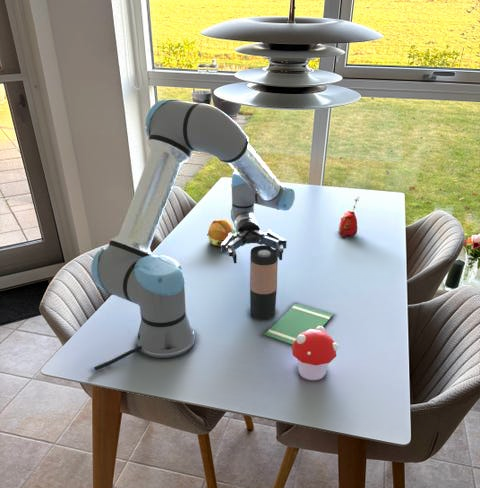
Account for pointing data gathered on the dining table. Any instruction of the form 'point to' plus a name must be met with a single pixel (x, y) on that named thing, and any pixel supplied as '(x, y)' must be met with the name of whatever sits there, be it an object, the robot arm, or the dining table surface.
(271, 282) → the travel mug
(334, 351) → the mushroom
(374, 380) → the dining table surface
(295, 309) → the cloth
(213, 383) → the dining table surface
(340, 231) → the red clay folk toy
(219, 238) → the cheeseburger
